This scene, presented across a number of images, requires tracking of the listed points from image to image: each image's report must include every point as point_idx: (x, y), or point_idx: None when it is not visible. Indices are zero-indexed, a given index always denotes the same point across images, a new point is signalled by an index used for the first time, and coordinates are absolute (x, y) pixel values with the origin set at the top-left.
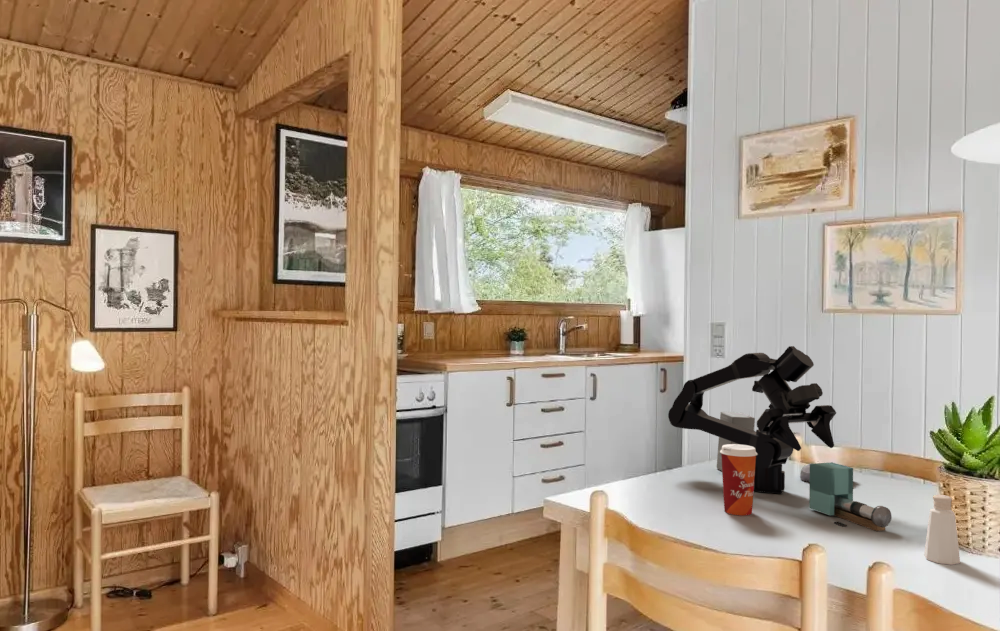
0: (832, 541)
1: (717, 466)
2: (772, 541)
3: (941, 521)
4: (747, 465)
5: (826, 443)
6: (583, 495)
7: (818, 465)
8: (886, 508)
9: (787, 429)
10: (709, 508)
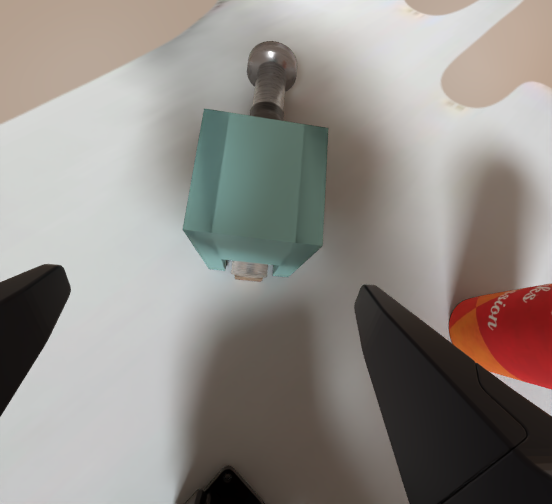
0: (414, 96)
1: None
2: (519, 140)
3: None
4: None
5: (42, 335)
6: None
7: (309, 204)
8: (264, 44)
9: (540, 421)
10: (534, 392)
